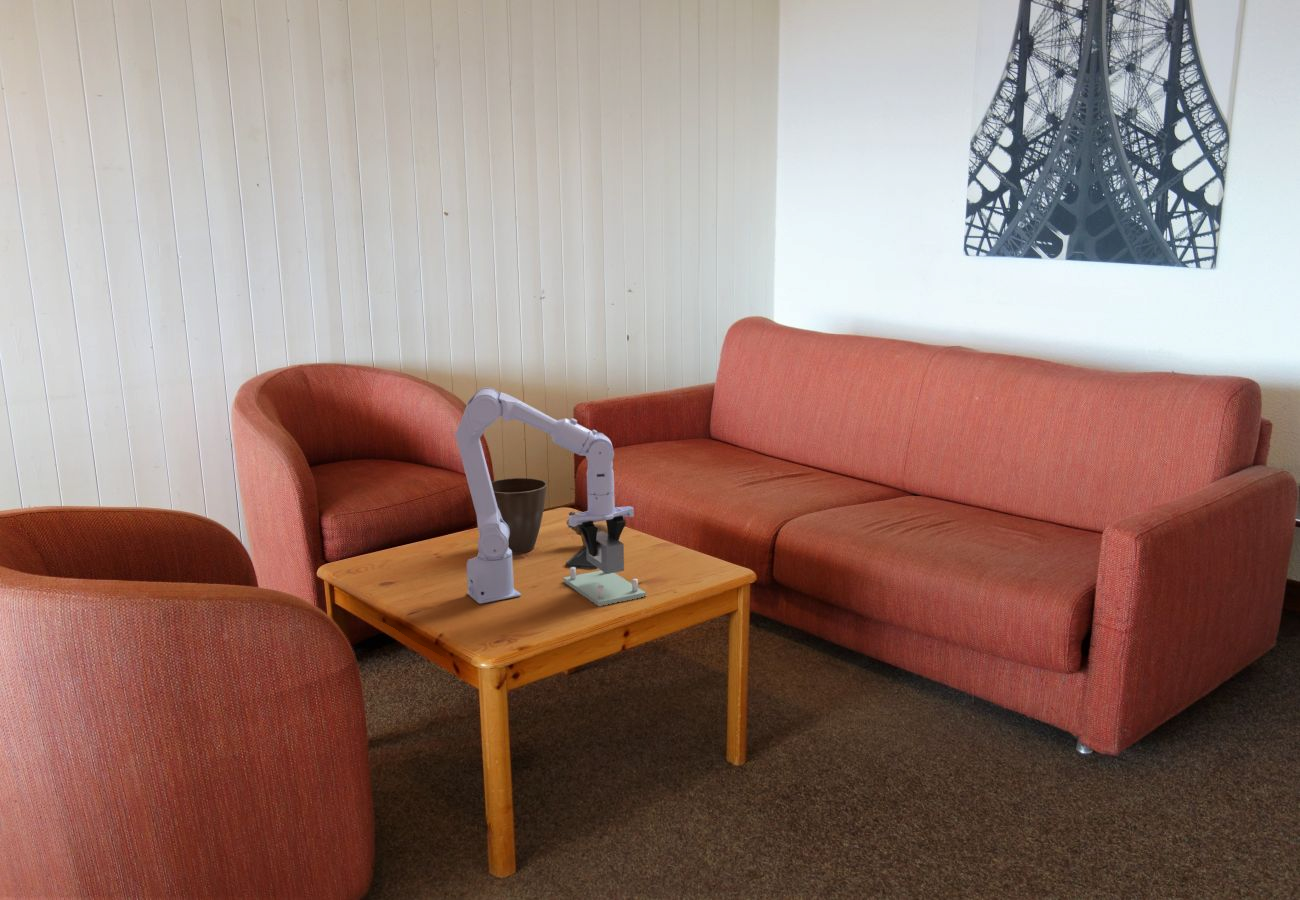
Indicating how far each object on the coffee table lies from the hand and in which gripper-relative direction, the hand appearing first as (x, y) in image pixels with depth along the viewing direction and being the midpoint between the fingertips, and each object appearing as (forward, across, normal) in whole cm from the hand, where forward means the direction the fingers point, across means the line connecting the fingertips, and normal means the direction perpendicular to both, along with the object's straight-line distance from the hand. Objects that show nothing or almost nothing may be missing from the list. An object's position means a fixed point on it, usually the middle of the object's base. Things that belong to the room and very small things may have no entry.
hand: (602, 553), depth 237 cm
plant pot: (+8, -5, +37) cm, 38 cm away
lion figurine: (+8, +11, +28) cm, 31 cm away
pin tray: (+8, 0, 0) cm, 8 cm away
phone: (+9, +7, +21) cm, 24 cm away
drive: (+2, 0, -1) cm, 3 cm away
